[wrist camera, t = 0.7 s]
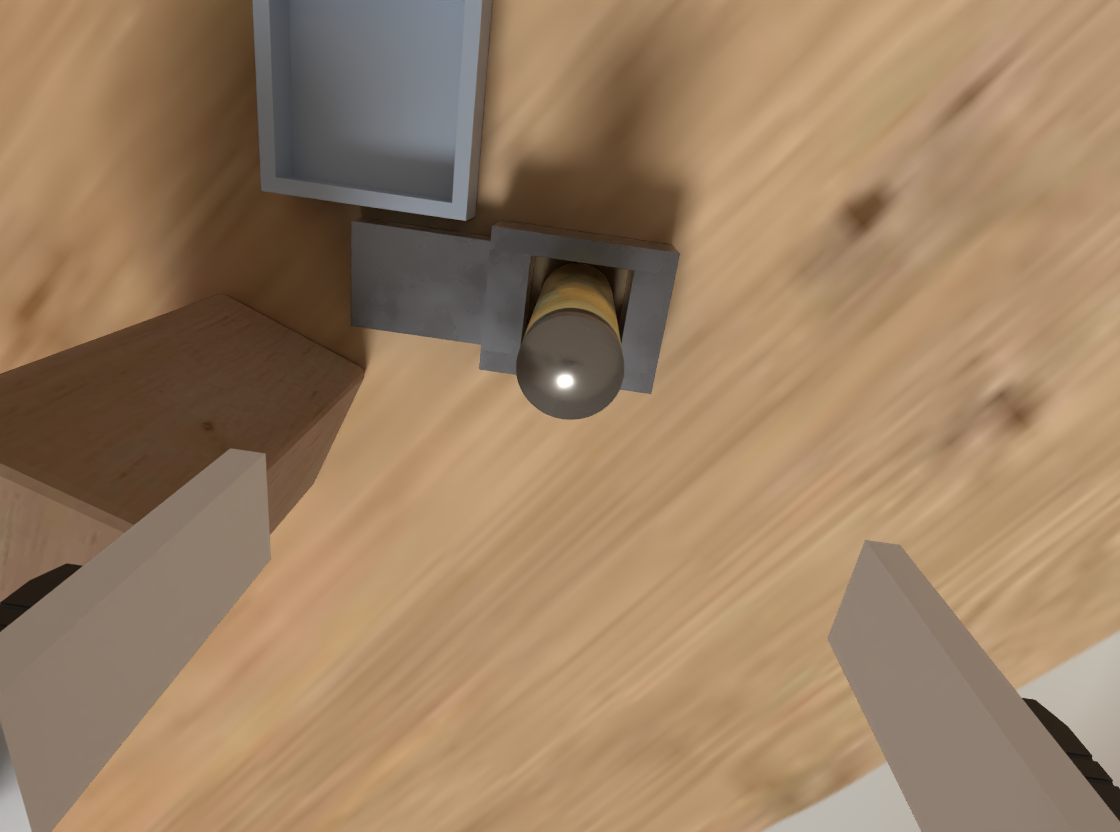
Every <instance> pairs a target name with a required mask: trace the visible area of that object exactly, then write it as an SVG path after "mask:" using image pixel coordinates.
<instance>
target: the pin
mask: <svg viewBox="0 0 1120 832" xmlns="http://www.w3.org/2000/svg"><path fill="white" fill-rule="evenodd" d="M516 374H517V379H518V383H519V385H520V388H521V390H522V392H523V394H524V395H525V397H526V398H527V399H528V400H529V401H530V403H531V404H532V405H534V406H535V407H536V408H537V409H539V410H540V411H542V412H543V413H545V414H547V415H550V416H553V417H556V418H560V419H569V420H571V419H581V418H586V417H589V416H592V415H594V414H596V413H598V412H600V411H601V410H603V409H604V408H605V407H607V406H608V405H609V404H610V403H611V402H612V401H613V399H614V398H615V397H616V395H617V393H618V392H619V390H620V388H621V385H622V382H623V378H624V359H623V353H622V347H621V341H620V335H619V329H618V323H617V317H616V311H615V306H614V300H613V294H612V289H611V286H610V284H609V282H608V280H607V279H606V277H605V276H604V275H603V274H602V273H601V272H600V271H599V270H597V269H596V268H594V267H592V266H589V265H587V264H582V263H572V264H567V265H564V266H561V267H559V268H558V269H556V270H555V271H553V272H552V273H551V274H550V275H549V276H548V278H547V279H546V281H545V282H544V284H543V287H542V289H541V292H540V295H539V298H538V300H537V303H536V306H535V308H534V311H533V314H532V317H531V319H530V322H529V325H528V327H527V330H526V333H525V336H524V338H523V341H522V344H521V347H520V349H519V352H518V355H517V361H516Z"/></svg>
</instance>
